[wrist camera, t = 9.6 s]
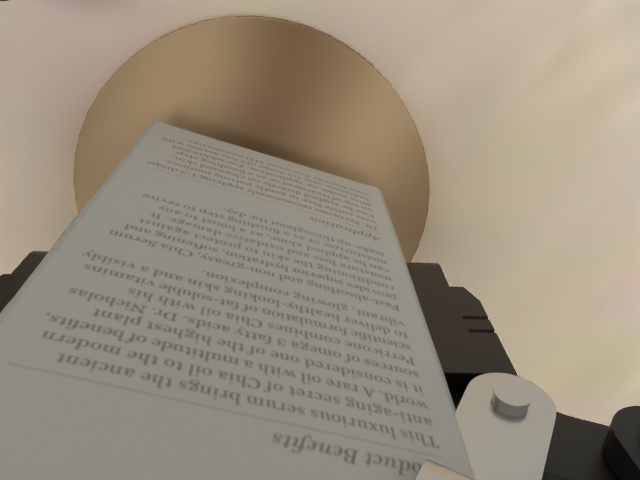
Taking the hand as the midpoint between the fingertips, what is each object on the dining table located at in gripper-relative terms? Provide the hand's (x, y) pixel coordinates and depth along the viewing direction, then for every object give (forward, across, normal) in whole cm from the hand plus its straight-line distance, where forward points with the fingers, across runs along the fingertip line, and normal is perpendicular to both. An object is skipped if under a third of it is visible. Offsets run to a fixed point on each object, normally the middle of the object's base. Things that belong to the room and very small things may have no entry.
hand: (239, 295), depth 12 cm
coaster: (+5, 0, 0) cm, 5 cm away
